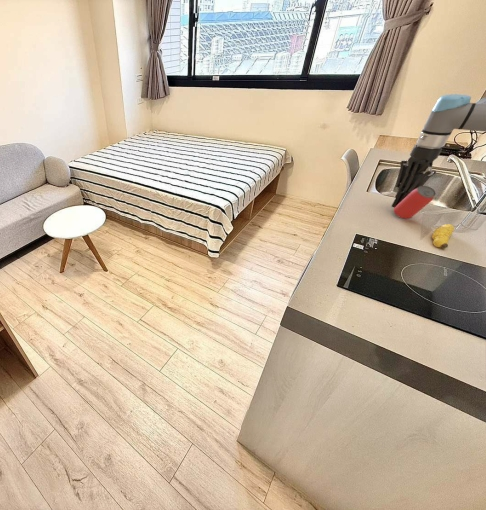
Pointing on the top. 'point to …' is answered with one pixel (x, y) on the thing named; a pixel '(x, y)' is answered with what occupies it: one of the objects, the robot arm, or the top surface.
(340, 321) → the top surface
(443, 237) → the yellow lumpy toy
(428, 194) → the beer can
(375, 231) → the top surface
